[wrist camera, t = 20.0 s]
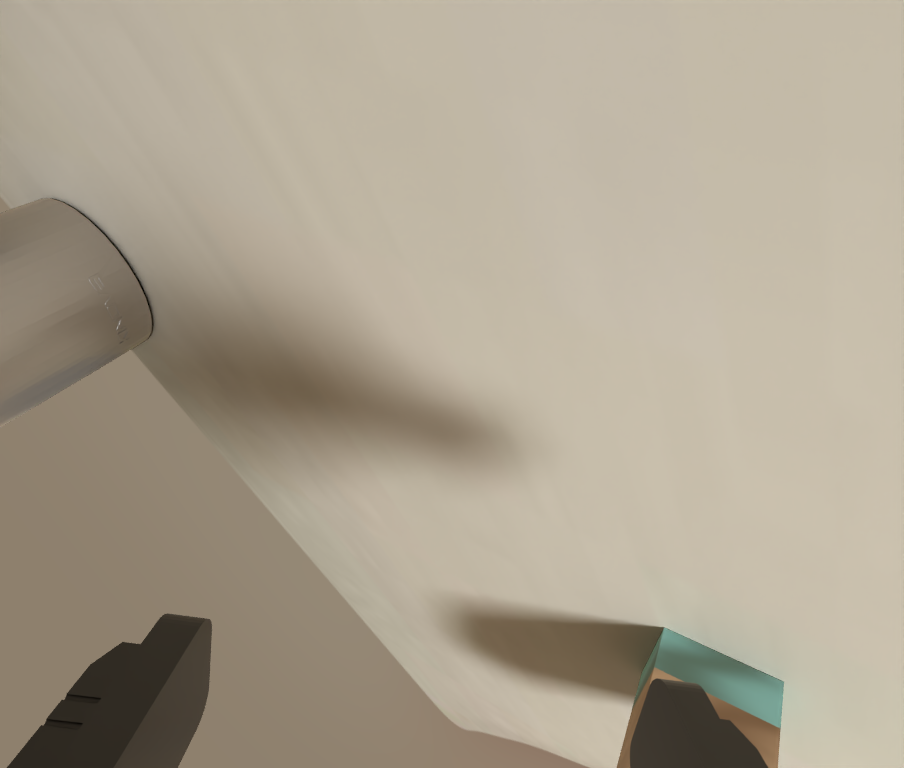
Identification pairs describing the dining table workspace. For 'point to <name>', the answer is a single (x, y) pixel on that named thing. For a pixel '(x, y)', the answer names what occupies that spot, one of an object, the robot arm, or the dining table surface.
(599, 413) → the dining table surface
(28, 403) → the robot arm
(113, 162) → the dining table surface
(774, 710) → the brown tall block
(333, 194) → the dining table surface
